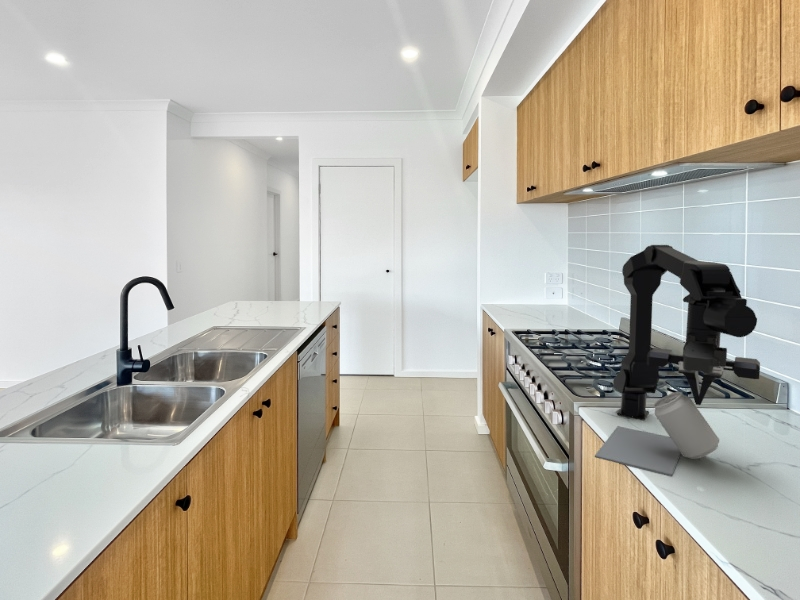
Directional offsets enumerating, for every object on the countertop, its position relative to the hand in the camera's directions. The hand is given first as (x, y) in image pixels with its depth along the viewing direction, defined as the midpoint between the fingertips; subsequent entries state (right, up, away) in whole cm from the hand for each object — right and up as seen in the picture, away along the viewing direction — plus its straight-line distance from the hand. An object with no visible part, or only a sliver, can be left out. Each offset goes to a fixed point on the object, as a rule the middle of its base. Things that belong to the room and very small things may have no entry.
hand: (698, 404), depth 97 cm
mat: (-8, -11, +6) cm, 15 cm away
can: (+1, -10, 0) cm, 10 cm away
